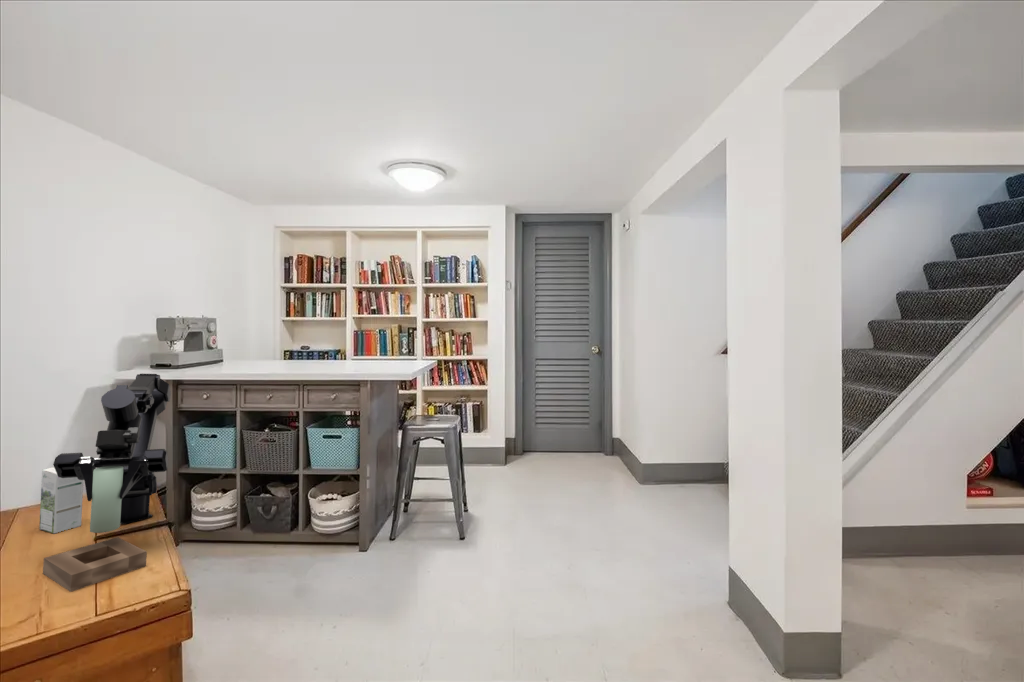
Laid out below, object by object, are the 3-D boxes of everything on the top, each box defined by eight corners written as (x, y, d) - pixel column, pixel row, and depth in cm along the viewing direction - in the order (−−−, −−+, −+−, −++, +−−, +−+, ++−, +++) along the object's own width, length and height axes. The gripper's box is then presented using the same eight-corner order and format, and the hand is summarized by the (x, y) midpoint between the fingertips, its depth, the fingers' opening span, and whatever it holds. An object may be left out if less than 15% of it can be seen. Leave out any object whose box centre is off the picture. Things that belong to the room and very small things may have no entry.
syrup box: (82, 525, 115) (86, 466, 115) (52, 534, 109) (56, 472, 109) (67, 521, 117) (71, 463, 117) (37, 530, 111) (41, 468, 111)
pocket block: (116, 553, 102) (117, 537, 102) (145, 568, 97) (146, 551, 97) (42, 575, 92) (43, 558, 92) (70, 594, 86) (71, 575, 86)
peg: (113, 522, 102) (116, 464, 102) (124, 527, 100) (128, 468, 100) (85, 529, 98) (88, 469, 98) (96, 534, 96) (100, 473, 96)
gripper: (59, 415, 98) (34, 483, 88) (169, 413, 107) (157, 475, 97) (70, 444, 105) (47, 511, 95) (172, 440, 114) (161, 501, 104)
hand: (105, 499), depth 98 cm, fingers closed on peg, 5 cm apart
